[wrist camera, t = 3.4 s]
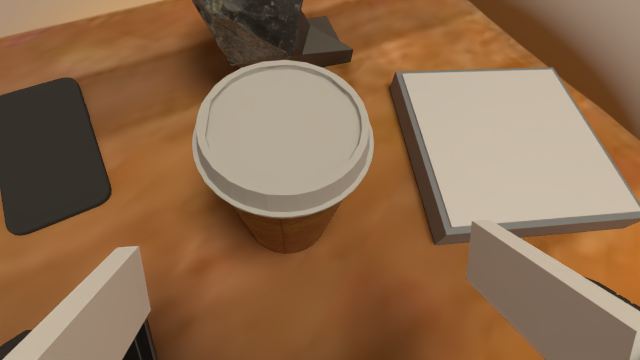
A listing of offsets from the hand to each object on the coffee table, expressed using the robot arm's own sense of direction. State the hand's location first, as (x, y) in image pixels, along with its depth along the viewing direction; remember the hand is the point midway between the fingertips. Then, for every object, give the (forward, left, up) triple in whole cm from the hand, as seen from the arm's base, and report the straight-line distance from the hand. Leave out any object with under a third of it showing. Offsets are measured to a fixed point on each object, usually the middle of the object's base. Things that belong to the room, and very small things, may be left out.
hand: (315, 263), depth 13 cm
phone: (-21, +15, -13) cm, 29 cm away
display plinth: (+19, +12, -12) cm, 26 cm away
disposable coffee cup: (-1, +7, -12) cm, 14 cm away
